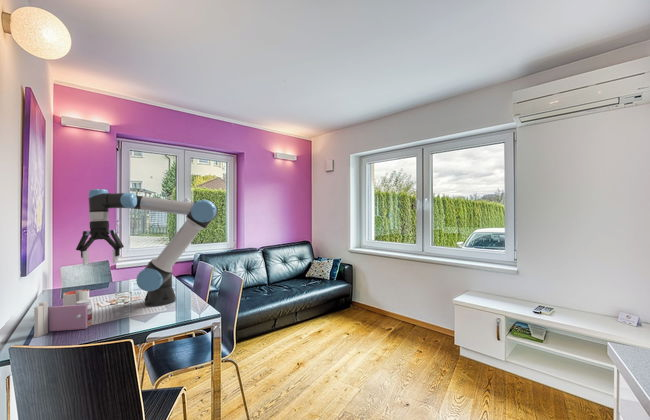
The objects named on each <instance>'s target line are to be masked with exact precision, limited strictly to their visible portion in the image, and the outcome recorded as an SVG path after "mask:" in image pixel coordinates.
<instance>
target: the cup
mask: <svg viewBox="0 0 650 420" xmlns="http://www.w3.org/2000/svg"><path fill="white" fill-rule="evenodd" d="M78 290H79V289H76V290H70V291H68V292H64V293H63V294H62V306H70V305H76V291H78ZM82 290H83V291H87V300H90V289H82Z"/></svg>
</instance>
